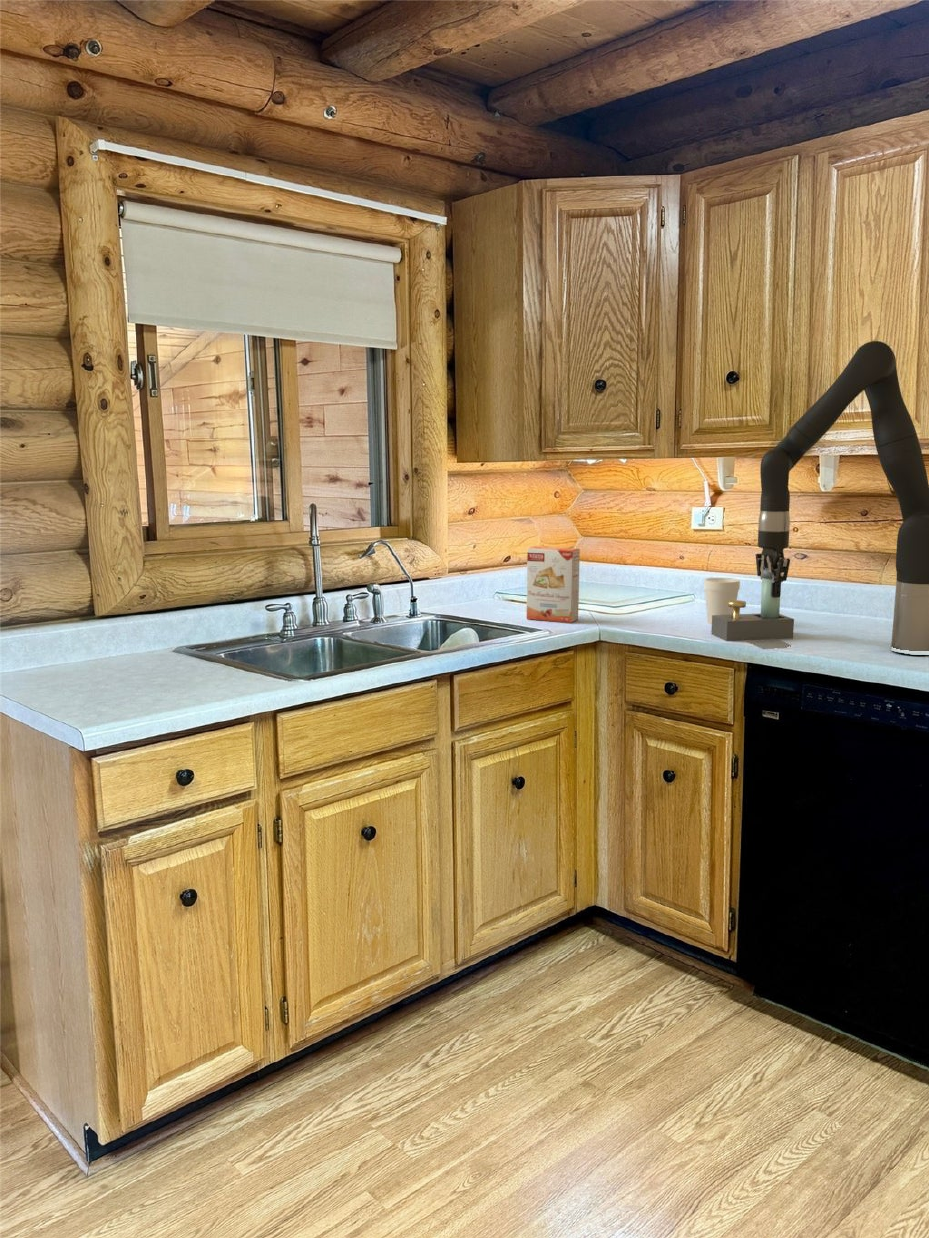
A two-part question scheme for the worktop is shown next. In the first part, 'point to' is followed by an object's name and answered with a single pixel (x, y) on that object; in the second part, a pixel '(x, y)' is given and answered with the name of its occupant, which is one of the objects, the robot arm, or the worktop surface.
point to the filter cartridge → (768, 598)
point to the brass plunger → (736, 607)
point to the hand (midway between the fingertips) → (770, 595)
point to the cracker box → (553, 584)
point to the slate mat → (770, 644)
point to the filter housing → (751, 627)
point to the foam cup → (720, 595)
